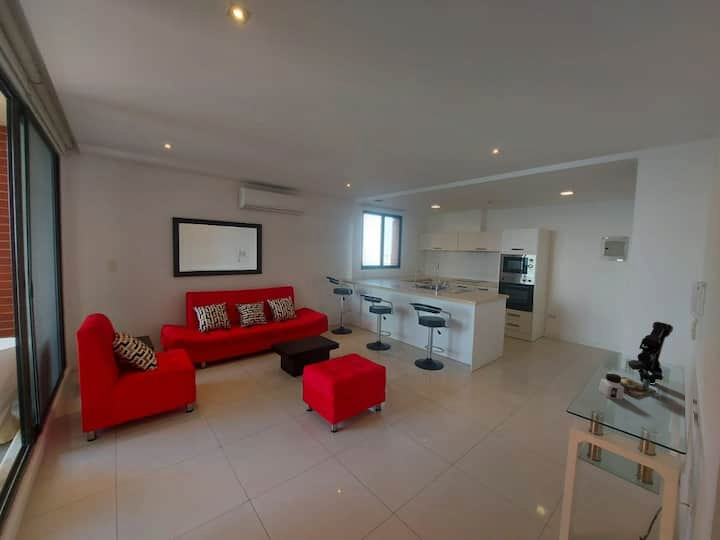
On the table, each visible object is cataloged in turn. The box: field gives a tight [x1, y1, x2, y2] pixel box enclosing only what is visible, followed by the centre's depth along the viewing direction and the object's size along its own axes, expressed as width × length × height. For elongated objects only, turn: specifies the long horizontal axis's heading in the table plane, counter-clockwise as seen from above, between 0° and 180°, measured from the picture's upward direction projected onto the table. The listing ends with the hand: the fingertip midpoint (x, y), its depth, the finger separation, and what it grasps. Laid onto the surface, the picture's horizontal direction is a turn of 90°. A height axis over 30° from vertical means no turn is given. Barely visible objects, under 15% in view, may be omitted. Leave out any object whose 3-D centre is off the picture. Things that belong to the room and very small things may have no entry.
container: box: [598, 372, 624, 401], centre depth 168 cm, size 8×8×13 cm
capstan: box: [621, 378, 651, 391], centre depth 176 cm, size 14×11×6 cm
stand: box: [620, 376, 657, 399], centre depth 177 cm, size 20×16×6 cm
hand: (642, 382), depth 176 cm, fingers closed
